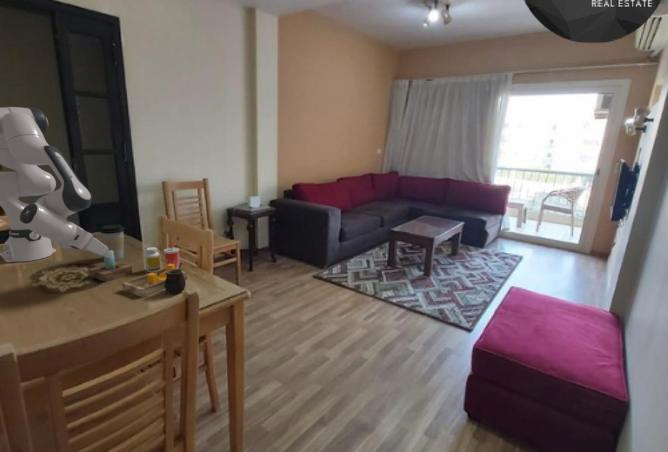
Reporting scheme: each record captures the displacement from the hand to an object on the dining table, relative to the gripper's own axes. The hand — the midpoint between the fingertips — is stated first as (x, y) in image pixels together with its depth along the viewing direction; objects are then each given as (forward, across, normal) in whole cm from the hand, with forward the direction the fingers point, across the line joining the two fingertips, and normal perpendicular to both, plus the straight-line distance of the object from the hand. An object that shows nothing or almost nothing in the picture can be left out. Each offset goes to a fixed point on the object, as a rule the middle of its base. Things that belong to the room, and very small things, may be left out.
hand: (101, 254), depth 138 cm
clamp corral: (+11, +23, -3) cm, 26 cm away
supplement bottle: (+18, +9, +3) cm, 20 cm away
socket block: (+9, -1, -5) cm, 10 cm away
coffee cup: (+19, -19, +4) cm, 27 cm away
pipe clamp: (+12, +24, -2) cm, 27 cm away
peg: (+9, -1, -5) cm, 10 cm away
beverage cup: (+21, +15, +7) cm, 27 cm away
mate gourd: (+11, +34, -3) cm, 36 cm away
